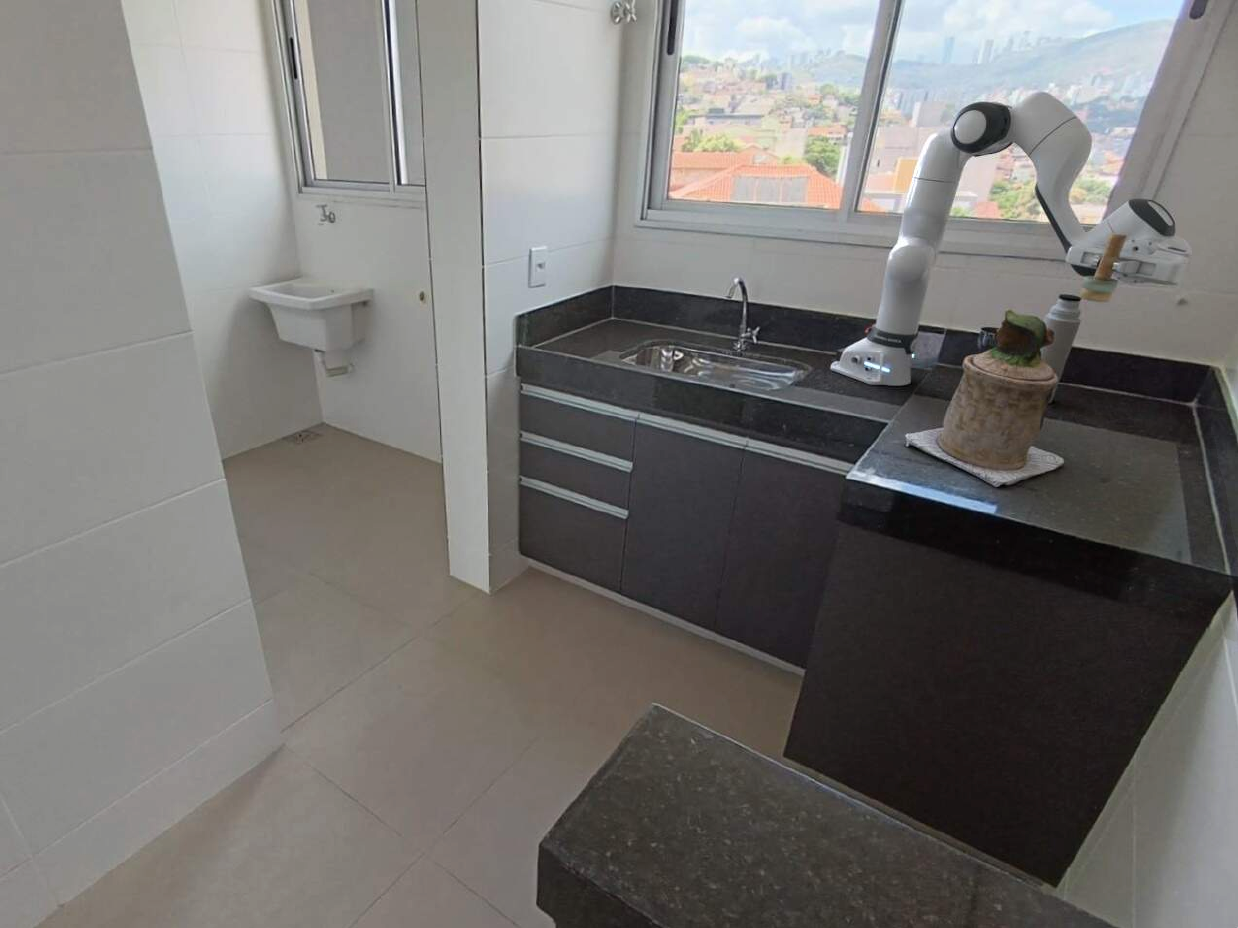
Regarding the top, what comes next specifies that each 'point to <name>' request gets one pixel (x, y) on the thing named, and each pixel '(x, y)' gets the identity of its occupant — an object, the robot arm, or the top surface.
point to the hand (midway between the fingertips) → (1105, 264)
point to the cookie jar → (999, 408)
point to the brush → (1104, 272)
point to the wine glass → (987, 339)
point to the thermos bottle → (1061, 333)
